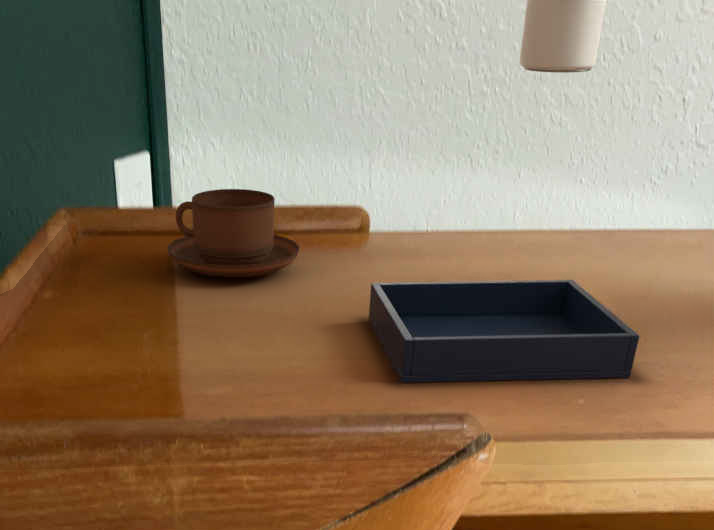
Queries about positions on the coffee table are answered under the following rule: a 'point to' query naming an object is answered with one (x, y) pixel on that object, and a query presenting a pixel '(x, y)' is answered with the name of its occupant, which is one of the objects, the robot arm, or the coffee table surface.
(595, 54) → the can
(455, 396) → the coffee table surface
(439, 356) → the tray
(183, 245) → the cup and saucer
